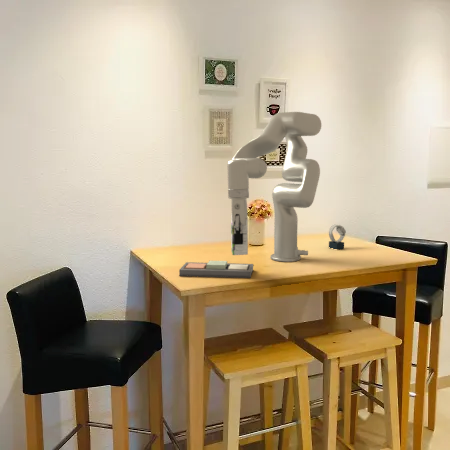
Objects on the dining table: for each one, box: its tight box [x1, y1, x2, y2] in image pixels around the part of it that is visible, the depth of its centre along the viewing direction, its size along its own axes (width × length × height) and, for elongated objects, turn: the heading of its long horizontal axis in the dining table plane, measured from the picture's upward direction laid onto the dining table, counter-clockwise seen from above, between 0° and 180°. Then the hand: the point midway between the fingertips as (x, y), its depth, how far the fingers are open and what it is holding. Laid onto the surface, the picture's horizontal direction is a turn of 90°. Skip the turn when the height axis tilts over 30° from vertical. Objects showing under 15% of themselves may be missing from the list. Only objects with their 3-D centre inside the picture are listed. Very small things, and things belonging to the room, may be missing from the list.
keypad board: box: [178, 261, 254, 279], centre depth 185 cm, size 26×12×2 cm, turn 82°
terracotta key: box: [185, 262, 206, 269], centre depth 186 cm, size 7×7×2 cm
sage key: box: [206, 260, 228, 269], centre depth 185 cm, size 7×7×2 cm
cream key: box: [228, 263, 248, 270], centre depth 184 cm, size 7×7×2 cm
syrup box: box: [230, 213, 249, 256], centre depth 183 cm, size 6×6×14 cm
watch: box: [328, 224, 347, 250], centre depth 228 cm, size 6×8×11 cm
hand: (239, 241), depth 183 cm, fingers closed on syrup box, 6 cm apart
